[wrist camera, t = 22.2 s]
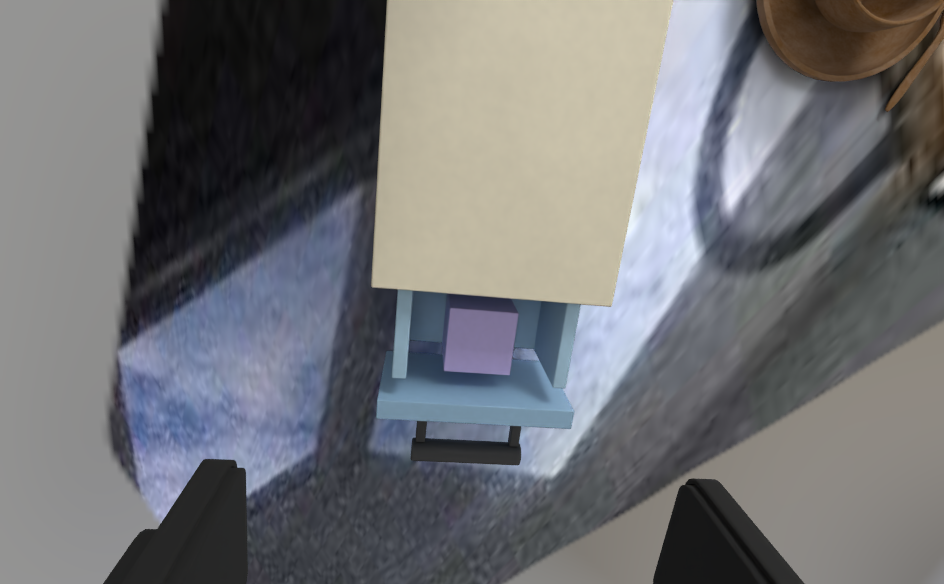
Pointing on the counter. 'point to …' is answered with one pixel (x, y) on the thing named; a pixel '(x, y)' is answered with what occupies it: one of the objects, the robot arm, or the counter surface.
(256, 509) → the counter surface
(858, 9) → the place setting
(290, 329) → the counter surface
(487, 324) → the lavender cube
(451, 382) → the blue drawer
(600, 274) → the drawer cabinet
